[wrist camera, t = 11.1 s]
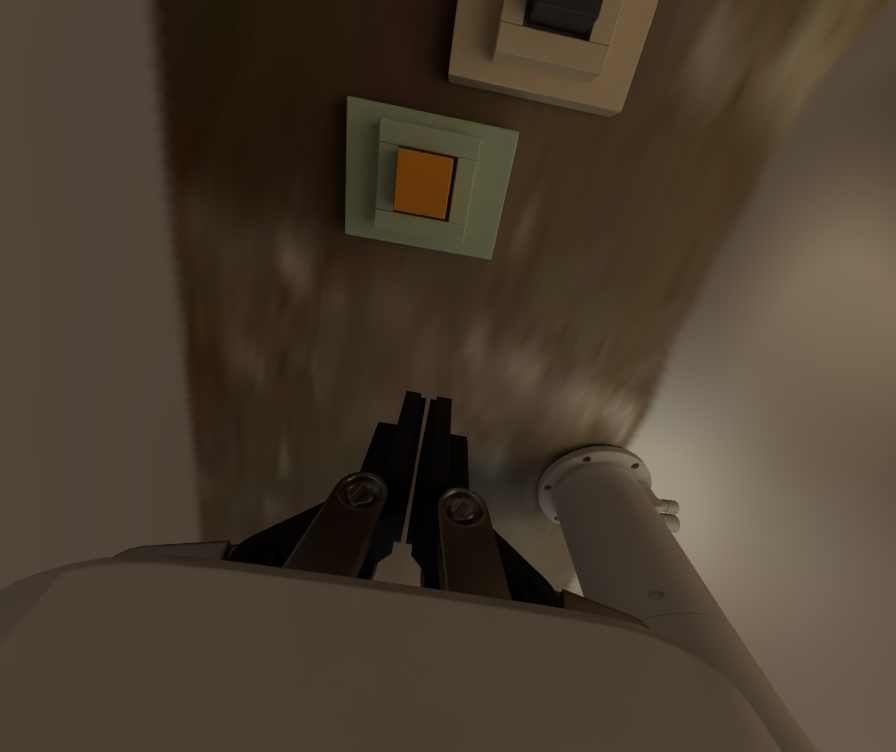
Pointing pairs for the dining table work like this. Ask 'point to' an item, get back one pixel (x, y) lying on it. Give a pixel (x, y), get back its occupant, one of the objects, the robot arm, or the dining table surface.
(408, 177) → the key
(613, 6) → the key block
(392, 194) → the key block
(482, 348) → the dining table surface
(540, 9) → the key
